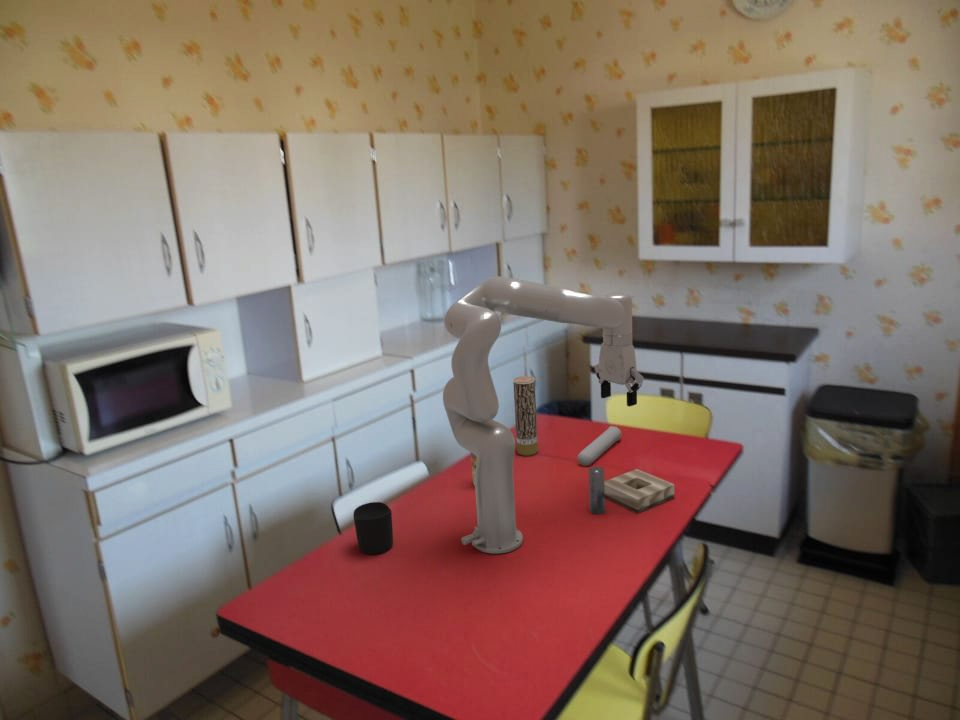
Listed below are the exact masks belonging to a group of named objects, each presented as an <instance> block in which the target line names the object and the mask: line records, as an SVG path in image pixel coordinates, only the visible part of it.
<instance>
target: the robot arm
mask: <svg viewBox="0 0 960 720" xmlns="http://www.w3.org/2000/svg"><path fill="white" fill-rule="evenodd" d="M497 312H499V313H503V314H508V315H512V316H518V317H522V318H523V317H524V318H529V319H530V318H531V319H536V320H542V321H549V322H553V323H560V324H570V325H573V324H574V325H580V326H586V327H593V328H597V329H598V328H599V329H602V330H603V331H602V334H601V336H602V338H603V339H602V341H603V342H602V343H601V345H600V351H599V357H598V359H599V360H598V364H596V365H594V367H593V368H594V371H595V373H596V374H595V375H596V377H597V379H598V383H599V384H600V398H601V399H607V398H609V397H611V396H612V388H611V386H612V385H611V383H613V384H616V385H622V386H623V385H624V386H625V388H626V389H627V391H626V406H627V407H633V406H636V405H637V404H638V391H639V390H640V388H641V387H642V385H643V382H644V380H645V377H644V376H643V375H642V374H641V373H640V372H639V371H637V360H636V352H635V347H634V345H633V298H632V296H631V294H630V293H628V292H625V291H624V292H621V291H620V292H619V291H617V292H616V291H614V292H608V293H606V294H599V295H592V294H587V293H582V292H579V291H574V290H572V289H568V288H564V287H559V286H556V285H549V284H545V283H538V282H534V281H530V280H524V279H518V278H512V277H506V276H501V275H499V276H491V277H489V278H488V279H485V280H484V281H482V282H481V283H479V284H478V285H477V286H475V287H474V288H473V289H471V290H470V291H469V292H467V293H466V294H465V295H463V296H462V297H460V298H459V299H458V300H457V301H455V302H453V303H452V304H451V306H449V307H448V309H447V311H446V312H445V316H444V326H445V328H446V331H447V332H448V333H449V334H450V335H451V336H453V337H455V338H457V339H458V342H457V344H456V346H455V348H454V351H453V353H452V356H451V370H452V375H453V376H452V377H451V378H449V379H448V381H447V382H446V383H445V385H444V389H443V391H442V403H443V406H444V409H445V410H444V411H445V413H446V417H447V419H448V422H449V426H450V428H451V431H452V434H453V437H454V439H455V441H456V443H457V444H458V445H459V446H460V447H461V448H463V449H464V450H466V451H468V452H470V454H471V453H473V454H474V455H476V456H477V458H478V463H477V466H476V469H475V476H474V479H475V485H474V488H475V489H474V490H475V502H476V503H475V505H476V519H477V525H476V526H474V527H473V529H474V531H472V532H471V534H467V535H466V536H463V537H462V536H461V543H462V545H464V546H465V545H469V544H471V545H472V547H474V548H475V549H477V551H480V552H482V553H487V554H491V555H492V554H495V555H496V554H505V553H510V552H513V551H514V550H516V549H518V548H520V546H521V545H522V544H523V542H524V538H523V537H524V535H523V533H522V531H520V530H519V529H517V522H516V506H515V505H516V504H515V502H516V501H515V485H514V484H515V483H514V458H515V451H516V440H515V439H516V438H515V435H514V433H513V432H512V431H511V430H510V428H508V427H507V426H506V425H505V424H502V423H501V422H499V421H497V420H494V419H495V418H496V416H497V414H498V413H499V406H500V403H499V398H498V395H497V391H496V387H495V384H494V380H493V378H492V374H491V370H490V366H489V355H490V353H491V350H492V348H493V346H494V344H495V343H496V341H497V340H498V338H499V336H500V334H501V331H502V321H501V320H502V319H501V318H500V316H499V314H498V313H497Z"/></svg>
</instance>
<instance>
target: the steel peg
mask: <svg viewBox="0 0 960 720" xmlns="http://www.w3.org/2000/svg"><path fill="white" fill-rule="evenodd" d="M588 480H589V481H588V483H589V486H588V487H589V488H588V489H589V491H588V492H589V513H591V514H592V515H603V514H604V513H605V512H606V498H605V481H606V480H605V468H604V467H601V466H591V467H589V468H588Z"/></svg>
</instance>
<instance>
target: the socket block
mask: <svg viewBox="0 0 960 720" xmlns="http://www.w3.org/2000/svg"><path fill="white" fill-rule="evenodd" d="M604 481H605V499H607V500H609V501H612V502H614V503H616V504H617V505H619V506H622V507H623V508H626V509H628V510H629V511H632V512H634V513H636V514H640V513H643V512H644V511H647V510H650V509H652V508H654V507H656V506H658V505H661V504H663V503H666V502H667V501H670V500H672V499H675V483H672V482H670V481H667V480H666V479H665V480H664V479H662V478H660V477H657V476H655V475H653V474H650V473H648V472H645V471H643V470H640V469H638V468H635V469H633V470H631V471H628V472H625V473H623V474H620V475H617V476H615V477H612V478H610V479H607V480H604Z"/></svg>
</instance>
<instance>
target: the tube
mask: <svg viewBox="0 0 960 720" xmlns="http://www.w3.org/2000/svg"><path fill="white" fill-rule="evenodd" d="M621 438H622V430H621V429H620V428H618V427H617V426H613V425H610V426H609V427H608V428H607V429H606V430H605V431H603V432H602V433H601V434H600V435H599V436H597V437H596V439H594V440H593V441H592V442H590V444H588V445H587V446H586V447H585V448H583V449H582V450H581V451H580V452H579V454H578V455H577V462H578V463H579V465H581V466H584V467H590V466H591V465H592V464H593V463H594V462H595V461H596V460H597V459H598V458H600V457H601V456H602V455H603V454H605V452H606V451H607V450H608V449H610V448H611V447H612V446H613V445H614V444H615V443H616V442H619V440H620V439H621Z"/></svg>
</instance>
